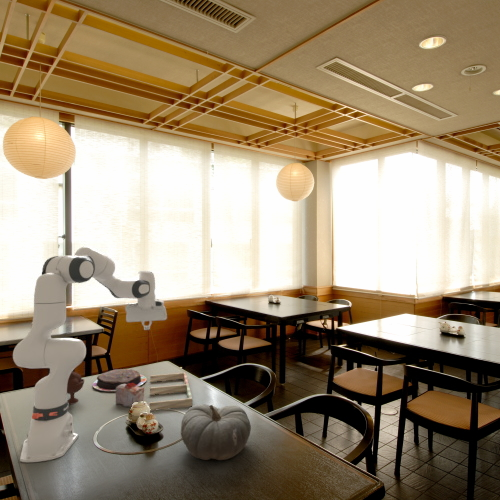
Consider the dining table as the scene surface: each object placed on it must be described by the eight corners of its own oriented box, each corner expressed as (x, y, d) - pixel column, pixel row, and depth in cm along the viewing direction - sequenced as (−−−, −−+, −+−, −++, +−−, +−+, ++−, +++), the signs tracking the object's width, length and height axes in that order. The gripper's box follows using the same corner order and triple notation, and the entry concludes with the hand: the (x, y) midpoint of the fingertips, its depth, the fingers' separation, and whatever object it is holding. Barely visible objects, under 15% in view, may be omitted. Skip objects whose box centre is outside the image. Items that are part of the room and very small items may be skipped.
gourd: (172, 432, 148) (180, 388, 148) (233, 432, 157) (241, 390, 156) (184, 475, 125) (193, 423, 124) (255, 472, 134) (264, 423, 133)
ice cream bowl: (78, 406, 181) (78, 374, 181) (55, 406, 182) (54, 374, 181) (88, 397, 192) (88, 367, 192) (66, 397, 192) (65, 367, 192)
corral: (192, 406, 180) (192, 398, 180) (149, 411, 175) (149, 403, 175) (185, 378, 218) (185, 372, 218) (150, 381, 214) (150, 375, 214)
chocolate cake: (157, 380, 216) (157, 368, 216) (116, 397, 193) (116, 384, 193) (123, 372, 231) (123, 361, 231) (81, 387, 207) (80, 374, 207)
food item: (147, 403, 184) (146, 382, 184) (135, 410, 176) (134, 388, 176) (125, 399, 190) (125, 378, 190) (112, 405, 182) (112, 384, 182)
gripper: (124, 304, 193) (125, 332, 193) (166, 302, 198) (167, 329, 199) (125, 302, 199) (125, 329, 199) (166, 300, 205) (166, 327, 205)
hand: (146, 329), depth 199 cm, fingers closed
